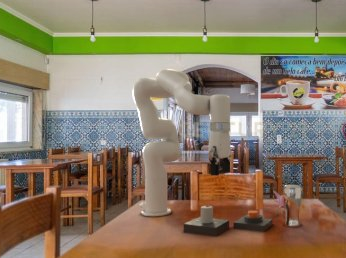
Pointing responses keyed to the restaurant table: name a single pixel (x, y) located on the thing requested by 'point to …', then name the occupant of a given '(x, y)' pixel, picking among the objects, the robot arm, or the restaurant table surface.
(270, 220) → the power block
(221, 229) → the panel
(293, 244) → the restaurant table surface
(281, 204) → the lily
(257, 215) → the power button
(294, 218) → the beer glass
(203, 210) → the timer knob
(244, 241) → the restaurant table surface
